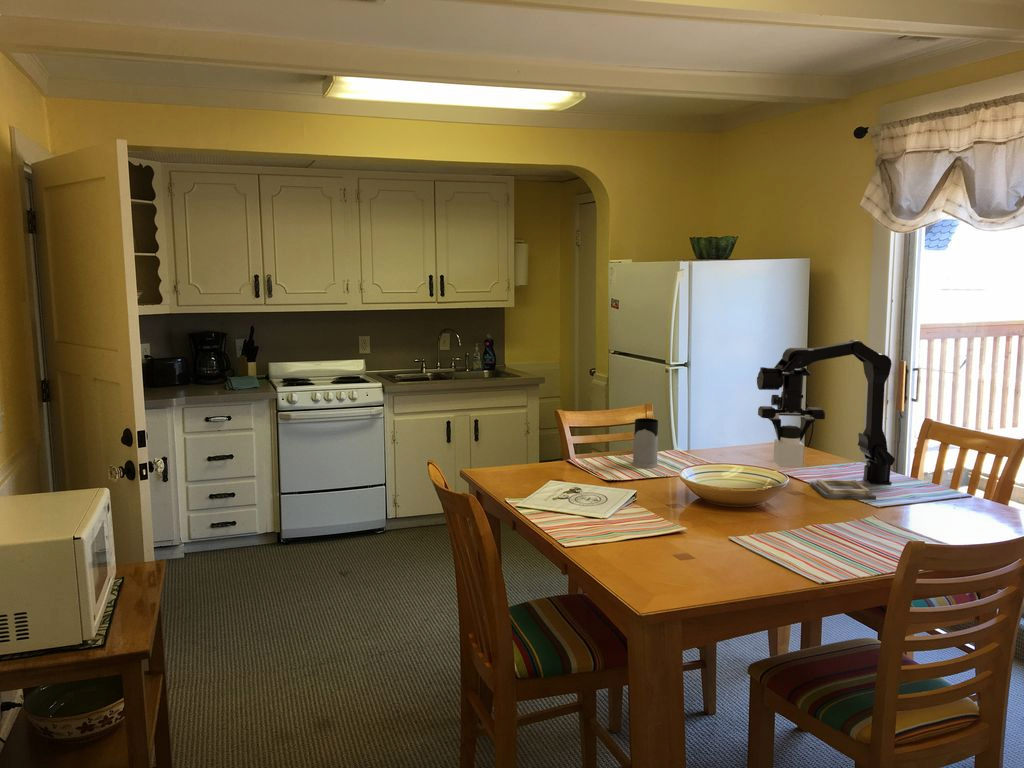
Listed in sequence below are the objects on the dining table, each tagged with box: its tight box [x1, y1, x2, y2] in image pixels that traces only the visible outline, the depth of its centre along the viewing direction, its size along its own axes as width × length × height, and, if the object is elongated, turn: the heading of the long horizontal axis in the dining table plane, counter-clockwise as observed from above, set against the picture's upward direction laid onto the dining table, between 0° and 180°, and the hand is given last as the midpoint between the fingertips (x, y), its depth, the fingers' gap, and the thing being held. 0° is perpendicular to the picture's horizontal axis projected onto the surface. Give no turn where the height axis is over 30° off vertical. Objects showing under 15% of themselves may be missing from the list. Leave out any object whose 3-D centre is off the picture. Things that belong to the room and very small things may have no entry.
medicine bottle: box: [772, 424, 806, 468], centre depth 251 cm, size 7×7×12 cm
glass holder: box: [631, 417, 659, 469], centre depth 273 cm, size 9×14×15 cm, turn 163°
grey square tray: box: [810, 478, 877, 500], centre depth 242 cm, size 14×14×2 cm
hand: (789, 440), depth 251 cm, fingers closed on medicine bottle, 6 cm apart
